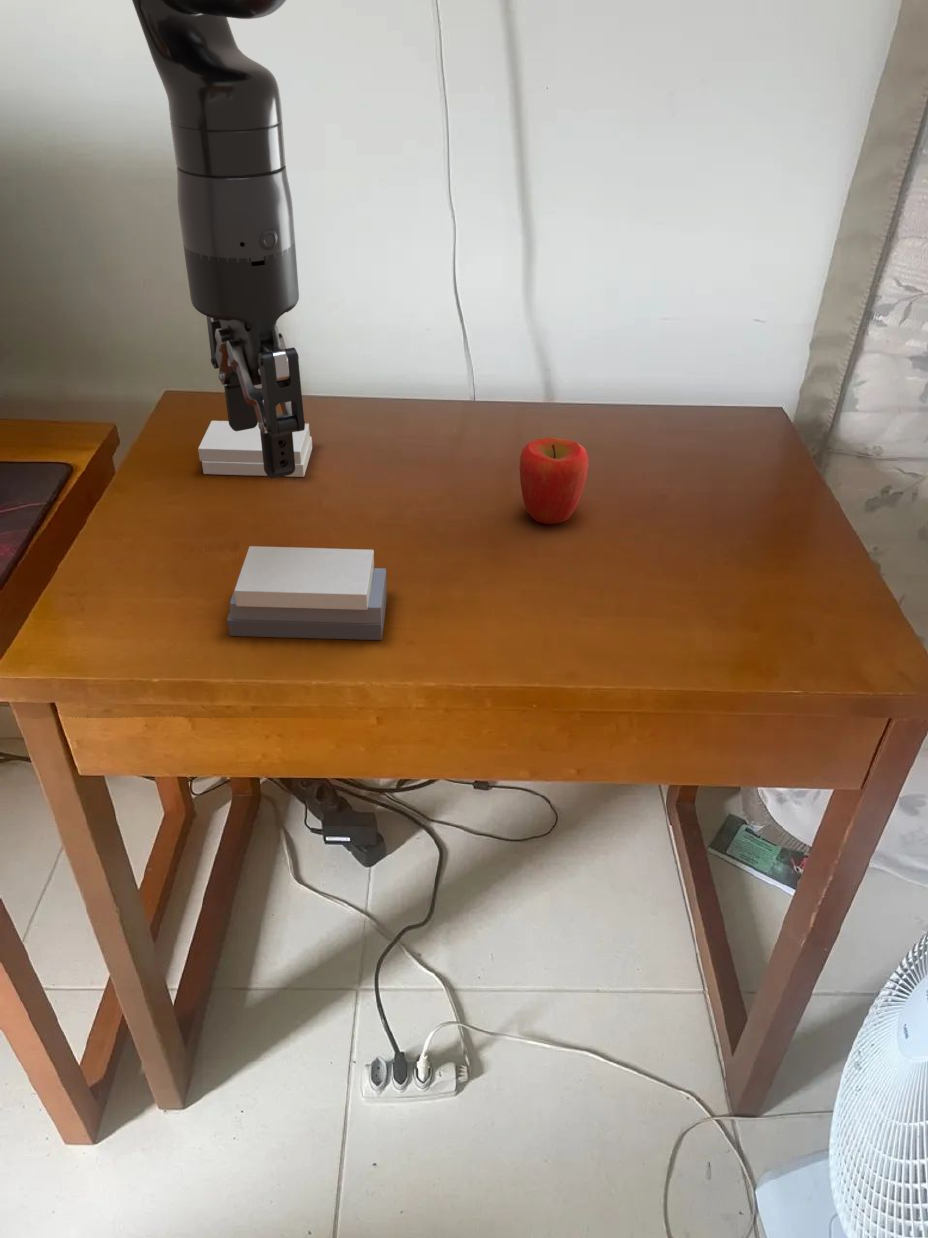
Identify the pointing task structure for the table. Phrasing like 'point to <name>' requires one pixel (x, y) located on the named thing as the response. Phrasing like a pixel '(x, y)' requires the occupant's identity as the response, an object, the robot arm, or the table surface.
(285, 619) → the grey books
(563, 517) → the apple
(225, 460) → the white books
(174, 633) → the table surface
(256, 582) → the white book
